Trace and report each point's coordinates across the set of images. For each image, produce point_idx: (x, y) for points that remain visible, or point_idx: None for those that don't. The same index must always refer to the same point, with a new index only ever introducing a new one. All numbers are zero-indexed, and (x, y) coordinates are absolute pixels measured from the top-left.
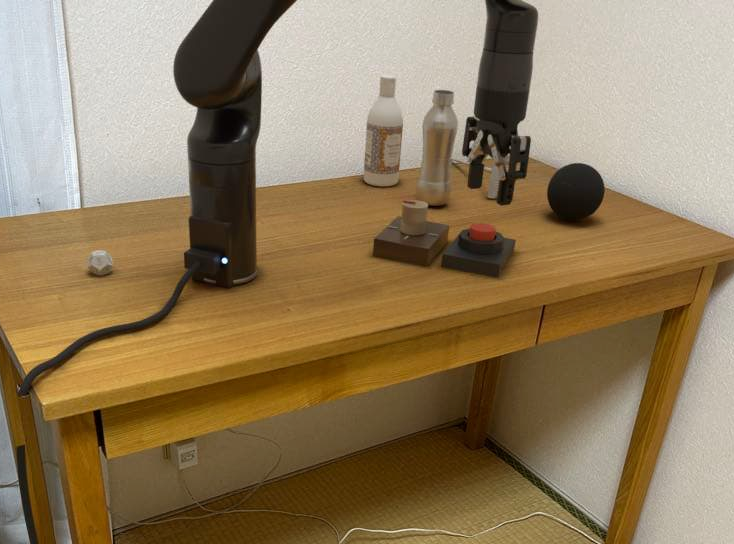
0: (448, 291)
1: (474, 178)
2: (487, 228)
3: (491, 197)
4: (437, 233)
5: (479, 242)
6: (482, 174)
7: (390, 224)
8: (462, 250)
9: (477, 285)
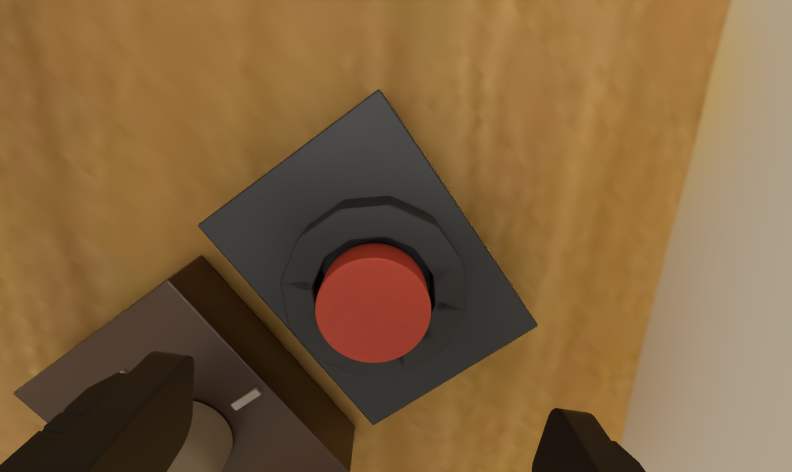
0: (511, 465)
1: (148, 469)
2: (393, 304)
3: None
4: (236, 374)
5: (429, 351)
6: (129, 429)
7: None
8: None
9: (525, 384)
